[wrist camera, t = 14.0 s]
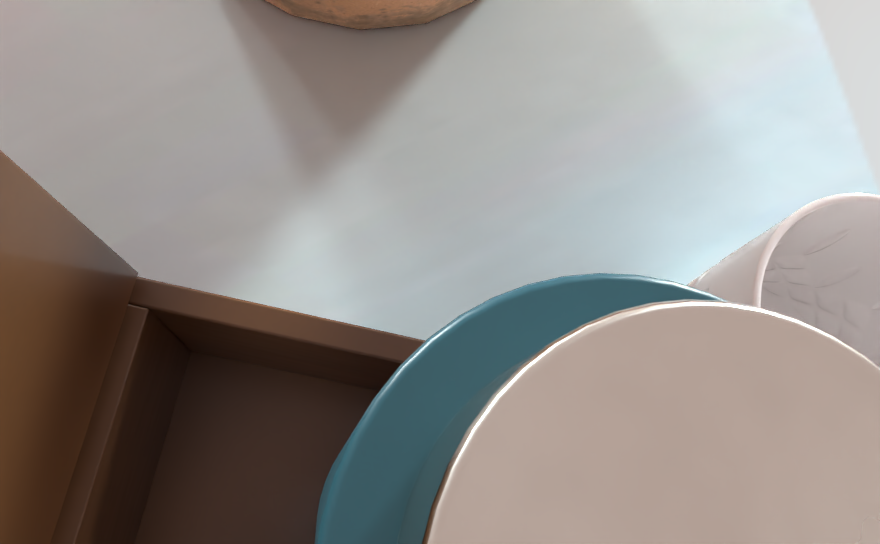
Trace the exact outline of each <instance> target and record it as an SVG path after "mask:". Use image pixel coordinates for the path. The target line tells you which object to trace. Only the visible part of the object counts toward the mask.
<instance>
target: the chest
mask: <svg viewBox="0 0 880 544" xmlns="http://www.w3.org/2000/svg"><path fill="white" fill-rule="evenodd" d="M424 342H425V340H420V339H416V338H411V337H407V336H402V335H398V334H393V333H389V332H384V331H380V330H375V329H371V328H366V327H362V326H357V325H353V324H348V323H344V322H339V321H335V320H330V319H326V318H321V317H317V316H312V315H308V314H303V313H299V312H294V311H290V310H285V309H281V308H276V307H272V306H267V305H263V304H258V303H254V302H249V301H245V300H240V299H236V298H231V297H227V296H222V295H218V294H213V293H209V292H204V291H200V290H195V289H191V288H186V287H181V286H177V285H172V284H168V283H163V282H159V281H154V280H150V279H145V278H141V277H137V278H136V281H135V284H134V287H133V290H132V293H131V296H130V299H129V302H128V305H127V308H126V312H125V315H124V318H123V321H122V324H121V327H120V330H119V333H118V336H117V339H116V342H115V345H114V348H113V352H112V355H111V358H110V361H109V364H108V367H107V370H106V373H105V376H104V379H103V382H102V385H101V388H100V392H99V395H98V398H97V401H96V404H95V407H94V410H93V413H92V416H91V419H90V422H89V425H88V428H87V431H86V435H85V438H84V441H83V444H82V447H81V450H80V453H79V456H78V459H77V462H76V465H75V468H74V471H73V475H72V478H71V481H70V484H69V487H68V490H67V493H66V496H65V499H64V502H63V505H62V508H61V511H60V515H59V518H58V521H57V524H56V527H55V530H54V533H53V536H52V539H51V542H50V544H315V533H316V522H317V513H318V507H319V502H320V497H321V494H322V490H323V487H324V484H325V481H326V478H327V476H328V474H329V472H330V469H331V467H332V465H333V463H334V462H335V460H336V458H337V457H338V455H339V453H340V452H341V450H342V448H343V447H344V445H345V444H346V442H347V440H348V439H349V437H350V436H351V434H352V432H353V431H354V429H355V428H356V426H357V424H358V423H359V421H360V420H361V418H362V416H363V415H364V413H365V412H366V410H367V408H368V407H369V405H370V404H371V402H372V400H373V399H374V397H375V396H376V395H377V394H378V392H379V391H380V390H381V389H382V387H383V386H384V385H385V384H386V382H387V381H388V380H389V379H390V377H391V376H392V375H393V374H394V372H395V371H396V370H397V369H398V367H399V366H400V365H401V364H402V363H403V362H404V361H405V360H406V359H407V358H409V357H410V356H411V355H412V354H413V353H414V352H415V351H416V350H417V349H418V348H419V347H420V346H421V345H422V344H423V343H424Z"/></svg>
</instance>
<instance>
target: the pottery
mask: <svg viewBox="0 0 880 544" xmlns="http://www.w3.org/2000/svg"><path fill="white" fill-rule="evenodd" d="M265 1H267V2H269V3H271V4H273V5H274V6H276V7H278V8H280V9H281V10H283V11H285V12H287V13H289V14H290V15H294V16H298V17H303V18H308V19H312V20H317V21H322V22H326V23H331V24H336V25H340V26H345V27H350V28H354V29H359V30H361V29H371V28H381V27H392V26H402V25H413V24H423V23H428V22H430V21H432V20H434V19H436V18H439V17H441V16H443V15H445V14H447V13H450V12H452V11H454V10H456V9H458V8H460V7H463V6H465V5H467V4H469V3H471V2H474V1H476V0H265Z"/></svg>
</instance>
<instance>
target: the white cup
mask: <svg viewBox="0 0 880 544" xmlns="http://www.w3.org/2000/svg"><path fill="white" fill-rule="evenodd" d="M686 286H689V287H692V288H695V289H699V290H702V291H705V292H708V293H710V294H713V295H715V296H717V297H719V298H722V299H724V300H726V301H728V302H733V303H738V304H744V305H750V306H756V307H760V308H763V309H766V310H769V311H772V312H776V313H779V314H782V315H785V316H789V317H792V318H795V319H798V320H800V321H802V322H804V323H806V324H809V325H811V326H813V327H815V328H818V329H820V330H822V331H824V332H826V333H829V334H831V335H832V336H834V337H836V338H837V339H839V340H841V341H842V342H844V343H846V344H847V345H849V346H851V347H852V348H854V349H856V350H857V351H859V352H861V353H862V354H864V355H865V356H866V357H868V358H869V359H870V360H871V361H873V362H874V363H875V364H877V365H878V366H879V367H880V195H874V194H866V193H845V194H838V195H832V196H828V197H825V198H821V199H819V200H816V201H814V202H811V203H809V204H807V205H805V206H804V207H802V208H800V209H799V210H797V211H796V212H794V213H793V214H791V215H790V216H788V217H787V218H785V219H784V220H782V221H781V222H779V223H778V224H776V225H775V226H773V227H771V228H770V229H768V230H767V231H765V232H764V233H762V234H761V235H759V236H758V237H756V238H754V239H753V240H751V241H750V242H748V243H747V244H745V245H744V246H742V247H741V248H739V249H737V250H736V251H734V252H733V253H731V254H730V255H728V256H727V257H725V258H724V259H722V260H721V261H720V262H719V263H718V264H716V265H715V266H713V267H712V268H710V269H709V270H707V271H706V272H704V273H703V274H702V275H700V276H699V277H697V278H696V279H694V280H693V281H692V282H690V283H689V284H688V285H686Z"/></svg>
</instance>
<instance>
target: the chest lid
mask: <svg viewBox="0 0 880 544" xmlns="http://www.w3.org/2000/svg"><path fill="white" fill-rule="evenodd" d="M137 275H138V272H136V271H135V270H134V269H133V268H132V267H131V266H130V265H129V264H128V263H126V262H125V261H124V260H123V259H122V258H121V257H120V256H119V255H117V254H116V253H115V252H114V251H113V250H112V249H111V248H110V247H108V246H107V245H106V244H105V243H104V242H103V241H102V240H101V239H99V238H98V237H97V236H96V235H95V234H94V233H93V232H92V231H91V230H89V229H88V228H87V227H86V226H85V225H84V224H83V223H82V222H80V221H79V220H78V219H77V218H76V217H75V216H74V215H73V214H71V213H70V212H69V211H68V210H67V209H66V208H65V207H64V206H62V205H61V204H60V203H59V202H58V201H57V200H56V199H55V198H53V197H52V196H51V195H50V194H49V193H48V192H47V191H46V190H45V189H43V188H42V187H41V186H40V185H39V184H38V183H37V182H36V181H34V180H33V179H32V178H31V177H30V176H29V175H28V174H27V173H25V172H24V171H23V170H22V169H21V168H20V167H19V166H18V165H16V164H15V163H14V162H13V161H12V160H11V159H10V158H9V157H8V156H6V155H5V154H4V153H3V152H2V151H1V150H0V544H50V542H51V539H52V536H53V533H54V530H55V527H56V524H57V521H58V518H59V515H60V511H61V508H62V505H63V502H64V499H65V496H66V493H67V490H68V487H69V484H70V481H71V478H72V475H73V471H74V468H75V465H76V462H77V459H78V456H79V453H80V450H81V447H82V444H83V441H84V438H85V435H86V431H87V428H88V425H89V422H90V419H91V416H92V413H93V410H94V407H95V404H96V401H97V398H98V395H99V392H100V388H101V385H102V382H103V379H104V376H105V373H106V370H107V367H108V364H109V361H110V358H111V355H112V352H113V348H114V345H115V342H116V339H117V336H118V333H119V330H120V327H121V324H122V321H123V318H124V315H125V312H126V308H127V305H128V302H129V299H130V296H131V293H132V290H133V287H134V284H135V281H136V278H137Z"/></svg>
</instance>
